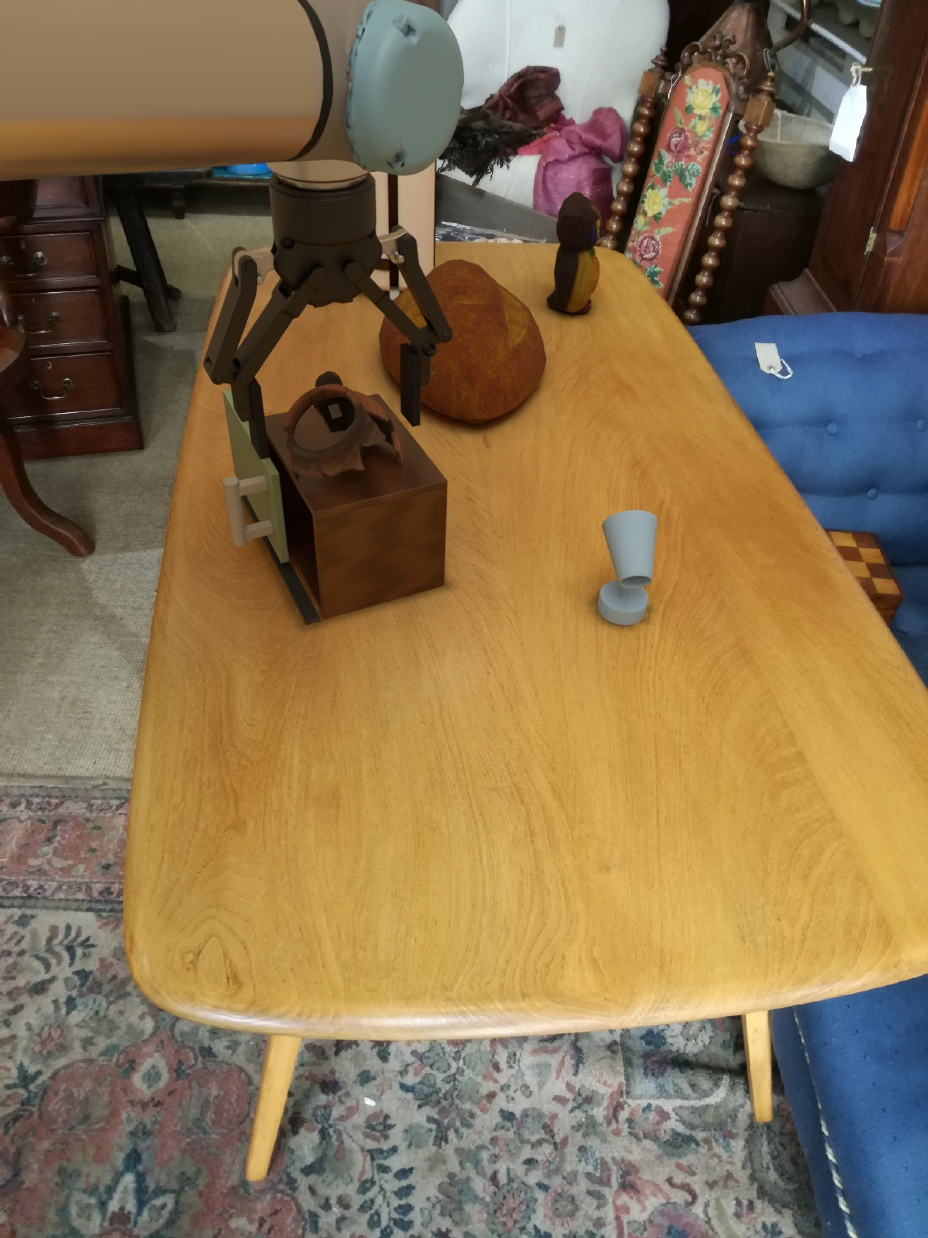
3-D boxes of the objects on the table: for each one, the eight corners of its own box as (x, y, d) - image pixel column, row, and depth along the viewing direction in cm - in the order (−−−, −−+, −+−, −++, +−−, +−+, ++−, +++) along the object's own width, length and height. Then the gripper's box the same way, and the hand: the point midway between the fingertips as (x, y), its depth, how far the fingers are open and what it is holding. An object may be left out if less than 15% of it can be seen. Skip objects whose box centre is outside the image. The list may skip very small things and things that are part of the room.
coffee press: (337, 264, 142) (324, 35, 121) (442, 266, 143) (447, 40, 122) (328, 314, 129) (312, 69, 109) (443, 317, 130) (449, 74, 110)
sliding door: (241, 574, 87) (227, 485, 80) (199, 482, 97) (183, 396, 90) (289, 561, 88) (279, 473, 82) (242, 473, 99) (230, 388, 92)
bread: (375, 434, 107) (372, 333, 99) (381, 309, 131) (379, 219, 123) (557, 436, 108) (570, 336, 100) (530, 312, 132) (538, 223, 124)
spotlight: (589, 581, 90) (599, 631, 85) (604, 495, 83) (616, 544, 78) (640, 581, 90) (653, 630, 85) (658, 496, 83) (675, 544, 78)
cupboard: (305, 625, 84) (294, 517, 75) (241, 498, 97) (225, 395, 89) (444, 585, 88) (448, 480, 80) (364, 469, 102) (360, 369, 94)
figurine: (593, 325, 130) (609, 215, 120) (543, 321, 130) (555, 210, 120) (595, 296, 137) (610, 189, 127) (548, 291, 137) (559, 185, 127)
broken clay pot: (424, 483, 80) (388, 430, 73) (329, 534, 81) (284, 486, 74) (382, 387, 86) (345, 329, 79) (293, 435, 87) (249, 382, 80)
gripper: (153, 211, 59) (203, 489, 73) (503, 170, 67) (486, 426, 82) (129, 173, 64) (181, 441, 78) (458, 140, 72) (450, 387, 87)
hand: (337, 434), depth 80 cm, fingers open, 13 cm apart
